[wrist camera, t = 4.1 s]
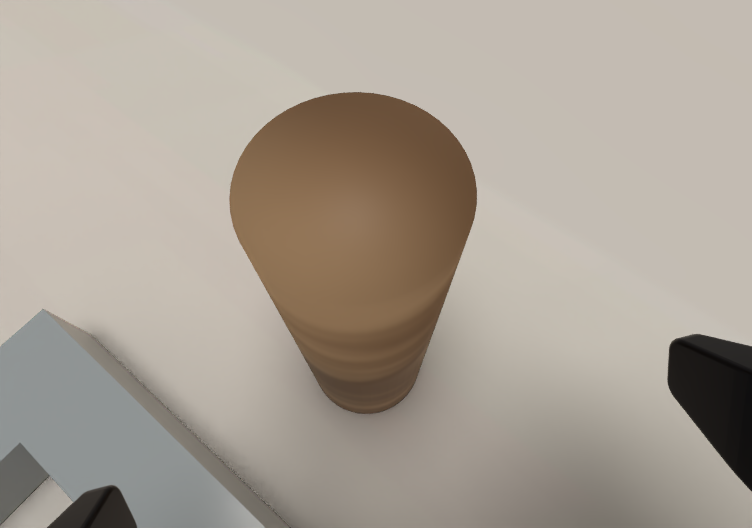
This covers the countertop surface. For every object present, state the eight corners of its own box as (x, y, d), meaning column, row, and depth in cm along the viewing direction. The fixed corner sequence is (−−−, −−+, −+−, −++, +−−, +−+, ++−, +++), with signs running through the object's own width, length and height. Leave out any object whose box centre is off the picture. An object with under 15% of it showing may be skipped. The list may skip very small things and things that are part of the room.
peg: (374, 437, 18) (370, 359, 7) (292, 367, 19) (177, 203, 8) (440, 351, 19) (524, 172, 8) (359, 290, 20) (339, 58, 9)
